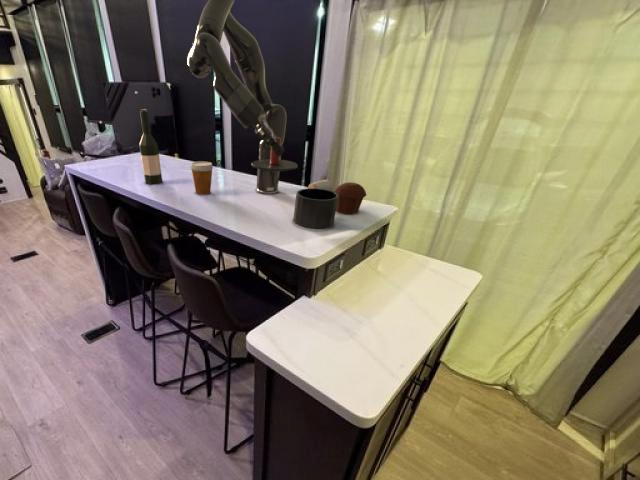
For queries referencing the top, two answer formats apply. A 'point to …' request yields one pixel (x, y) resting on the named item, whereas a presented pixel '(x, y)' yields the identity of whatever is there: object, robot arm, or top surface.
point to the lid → (274, 162)
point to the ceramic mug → (322, 185)
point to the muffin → (349, 197)
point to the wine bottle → (149, 153)
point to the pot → (315, 208)
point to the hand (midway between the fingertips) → (281, 152)
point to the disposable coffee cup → (202, 177)
